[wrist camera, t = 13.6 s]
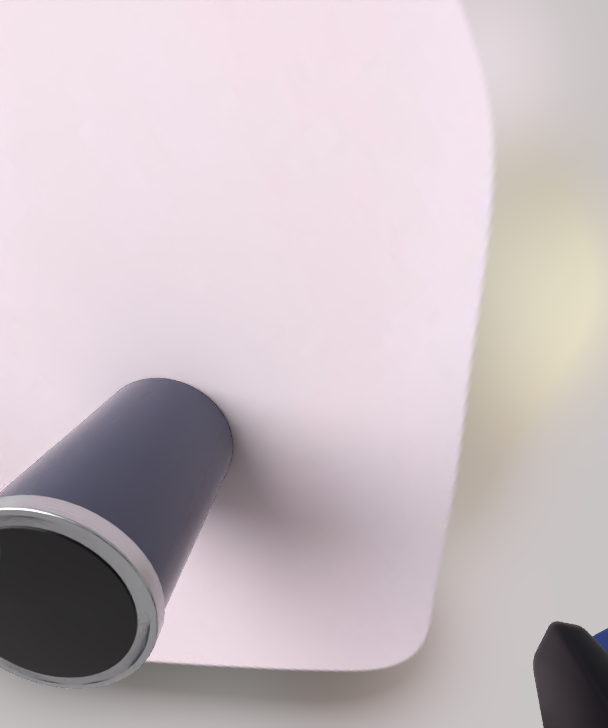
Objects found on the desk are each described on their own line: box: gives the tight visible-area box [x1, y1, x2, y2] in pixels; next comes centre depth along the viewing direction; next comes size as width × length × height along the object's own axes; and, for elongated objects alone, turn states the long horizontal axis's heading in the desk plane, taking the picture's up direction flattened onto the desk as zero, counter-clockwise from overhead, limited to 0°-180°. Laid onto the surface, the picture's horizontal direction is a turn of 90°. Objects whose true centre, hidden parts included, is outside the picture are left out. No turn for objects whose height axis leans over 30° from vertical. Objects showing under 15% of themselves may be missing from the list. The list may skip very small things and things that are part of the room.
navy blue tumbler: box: [0, 378, 233, 689], centre depth 17 cm, size 6×6×9 cm
